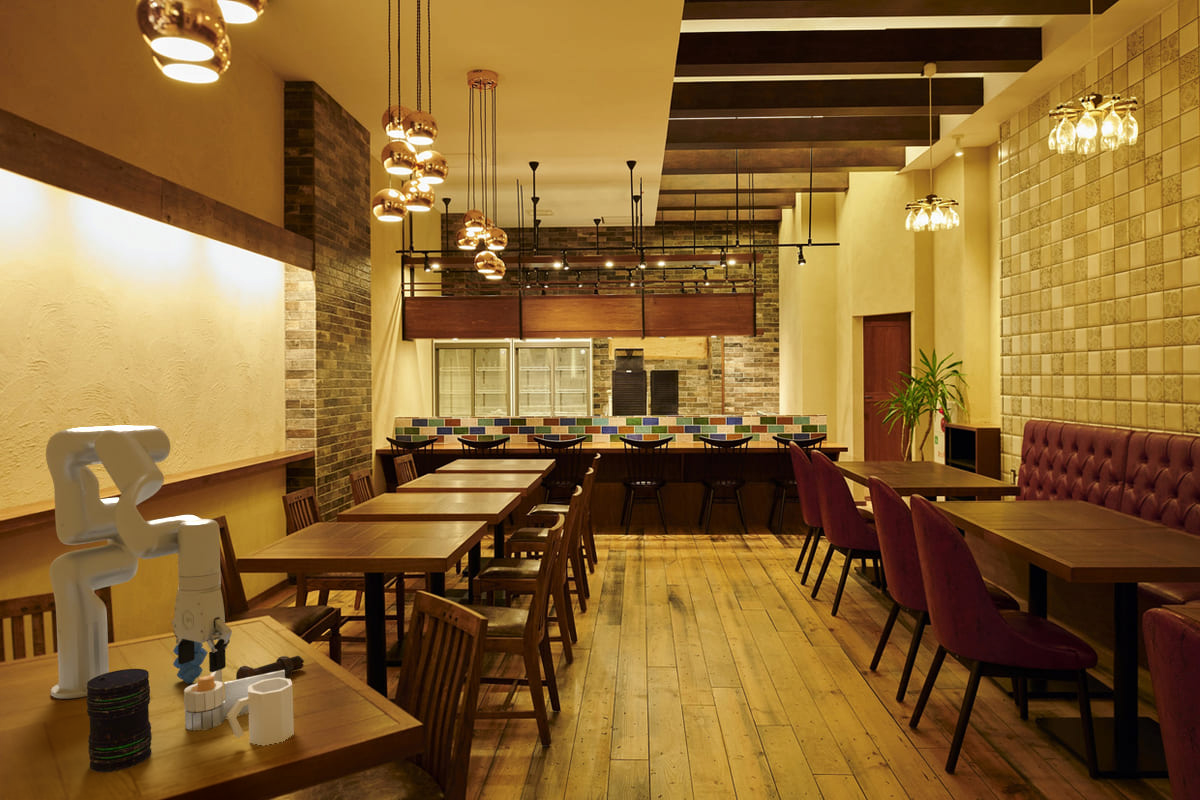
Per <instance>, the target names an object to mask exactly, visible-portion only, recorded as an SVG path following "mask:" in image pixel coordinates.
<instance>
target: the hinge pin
mask: <svg viewBox="0 0 1200 800" xmlns="http://www.w3.org/2000/svg"><path fill="white" fill-rule="evenodd" d="M197 683H198V692H201V691H207V690H210V689H212V688H214V676H210V675H204V676H201V677H200V676H199V677H198V678H197Z"/></svg>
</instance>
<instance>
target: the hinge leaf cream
mask: <svg viewBox="0 0 1200 800" xmlns="http://www.w3.org/2000/svg"><path fill="white" fill-rule="evenodd" d="M209 676H214V688H212V689H210V690H207V691H201V692H198V682H196V683H194V684H193V683H192V684H191V685H189V686H187V687H185V688H184V690H183V701H184V702H183V704H184V706H183V707H184V710H185V709H186V710H187V711H191V712H195V711H196V712H199V711H205V710H210V709H213V708H216V707H218V706H220V705H221V704H222V703H223V702H224V701H225V692H224V682H223V669H221V670H218V671H215V672H210V675H209Z"/></svg>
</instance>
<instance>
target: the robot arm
mask: <svg viewBox="0 0 1200 800" xmlns="http://www.w3.org/2000/svg"><path fill="white" fill-rule="evenodd" d="M170 452H171V441H170V438H169V436H168V435H167V434H166V432H165V431H164V429H161V428H160V427H158V426H155V425H129V424H128V425H109V426H106V425H105V426H89V427H88V426H84V427H75V428H67V429H62V430H59V431H57V432H55V433H54V434H53V435H51V436H50V437H49V440H48V441H47V444H46V448H45V458H46V459H45V460H46V464H47V467H48V471H49V474H50V476H51V479H52V482H53V487H54V488H53V489H54V515H55V530H56V534H57V538H58V540H59V541H60V543H62V544H64V545H68V546H69V545H72V546H75V545H83V544H89V543H96V542H100V541H106V542H107V544H105V545H100V546H93V547H88V548H87V547H86V548H82V549H77V550H72V551H69V552H66V553H63V554H61V555H59V556H58V557H56V558H55V559H54V560H53V561H52V562H51V564H50V565H49V574H48V575H49V581H50V584H51V587H52V588H51V589H52V592H53V597H54V603H55V617H56V619H55V620H56V638H57V639H56V640H57V642H56V643H57V660H58V661H57V664H58V667H57V669H58V670H57V671H58V683H57V684H56V685H54V686H52V688H51V689H50V696H51V697H52V696H53V698H56V699H62V700H65V699H66V700H67V699H77V698H78V699H79V698H84V697H87V691H88V690H87V683H88V681H90V680H91V679H93V678H95V677H97V676H99V675H102V674H105V673H109V672H110V669H109V666H110V665H109V639H108V638H109V637H108V613H107V607H106V604H105V603H104V601H103V600H102V599H101V598H100V597H99V596H98V595H97V594H96V593H95V591H96V590H99V589H102V588H103V589H104V588H107V587H111V586H115V585H119V584H123V583H127V582H129V581H131V579H134V577H135V576H136V574H137V573H138V572H137V571H138V569H139V568H138V567H139V559H142V560H150V559H155V558H161V557H165V556H169V555H173V554H174V555H175V554H177V564H178V565H177V569H178V570H177V571H178V588H177V590H176V591H177V592H176V596H175V602H174V603H175V604H174V615H173V616H174V618H173V619H171V625H172V628H173V634H174V636H175V638H176V639H175V642H176V643H175V644H176V645H177V644H179V645H178V655H177V657H178V663H179V664H184V663H187V662H190V661H193V660H194V659H195V654H194V642H199V643H202V644H204V643H207V645H208V647H209V649H210V652H209V653H208V663H209V664H208V665H209V666H208V667H209V668H208V669H209V672H210V673H212V672H215V671H218V670H221V669H222V670H224V669H225V668H226V666H227V664H226V649H228V644H229V643H230V639H231V636H232V628H230V627H229V626H228V625H227V624H226V620H225V619H226V617H225V607H224V605H225V604H224V598H223V594H222V588H221V584H222V582H221V581H222V580H221V576H222V575H221V542H220V540H221V539H220V538H221V536H220V525H219V523H218V522H217V521H216V520H214V519H210V518H201V517H199V516H197V515H193V514H182V515H176V516H169V517H163V518H155V519H151V520H145V519H144V518H143V515H141V513H140V512H139V510H138V508H137V506H138V505H139V504H141V503H142V502H144V501H146V500H147V499H150V498H151V497H153V496H154V495H155V494H156V493H157V492H159V490H161V488H162V486H163V484H164V482H165V477H164V474H163V472H162V471H161V469H160V468H159V466H158V464H157V463H161V462H163V461H165V460H166V459H167V458H168V457H169V455H170ZM92 465H102V466H103V467H104V469H105V470H106V472H107V474H108V475H109V477H110V478H111V480H112V481H113V484H114V485H115V486H116V488H117V489H118V490H119V492H120V496H119V497H110V498H109V497H108V498H101V496H100V482H99V481H100V480H99V479H98V477H97V476H96V474H95V473H94V471H93V470H92V469H91V468H89V466H92ZM216 640H217V642H216V643H215V641H216Z"/></svg>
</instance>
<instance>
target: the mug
mask: <svg viewBox="0 0 1200 800" xmlns="http://www.w3.org/2000/svg"><path fill="white" fill-rule="evenodd" d="M293 693H294V692H293V682H292V680H291V678H287V677H285V678H280V677H278V678H271V679H265V680H261V681H259V682H256V683H254V684H252V685H250V686H248V697H246V698H242V699H238V701H237V702H236V703H235V705H234V706H233V707H232V709H231V710H230V711H229V713H228V714H227V717H228V719H227V720H228V722H229V724H230V727H231V729H232V732H233V734H234V736H235V737H237V738H238V739H239V738H241V737H242V736H244V735H245V733H244V731H243V729H242V727H241V725H240V723H239V720H238V719H237V717H238V716H237V715H238V714H239V712H240V711H241V709H242V707H243V706H244V705H248V710H249V714H248V734H249V735H248V736H249V737H248V738H249V739H248V740H249V744H250V743H253V744H252V745H255V744H257V745H256V746H259V745H262V746H261V747H266V746H265V745H267V746H270V745H269V744H272V745H275V744H274V743H277V744H280V743H279V742H282V743H284V742H286V741H287V740H289V739H290V738H292V737H293V736H294V735H295V730H294V728H295V727H294V725H295V724H294V722H295V721H294V698H293V697H294V696H293ZM292 735H293V736H292ZM291 736H292V737H291ZM289 737H290V738H289ZM288 738H289V739H288ZM286 739H287V740H286ZM285 740H286V741H285ZM283 741H284V742H283Z"/></svg>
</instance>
